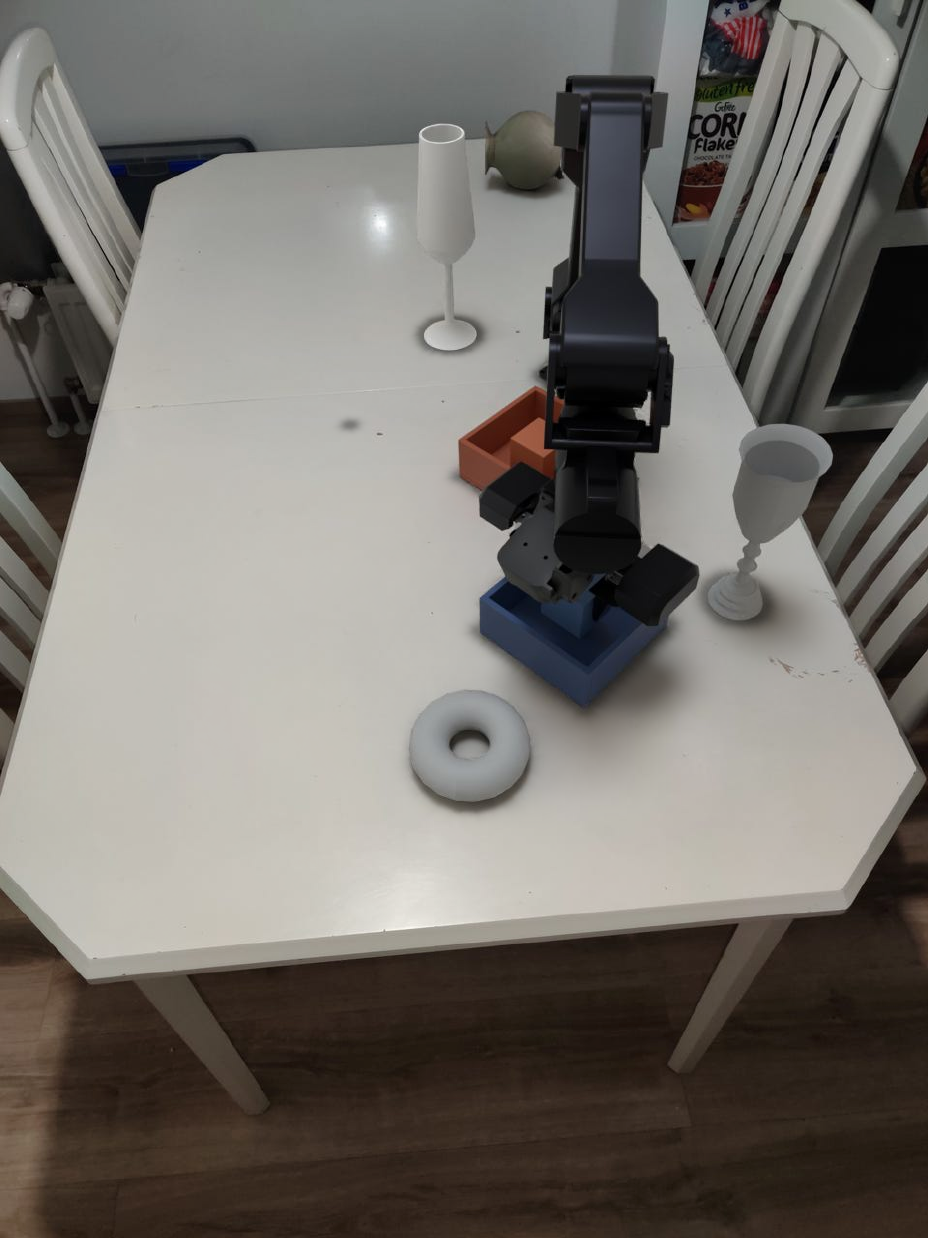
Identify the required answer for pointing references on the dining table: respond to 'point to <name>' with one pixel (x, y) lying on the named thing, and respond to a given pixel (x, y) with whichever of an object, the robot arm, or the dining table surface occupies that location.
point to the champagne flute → (445, 221)
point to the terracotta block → (532, 448)
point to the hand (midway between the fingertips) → (576, 603)
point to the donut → (465, 774)
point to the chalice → (768, 504)
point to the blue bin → (562, 641)
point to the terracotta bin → (500, 437)
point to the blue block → (574, 611)
